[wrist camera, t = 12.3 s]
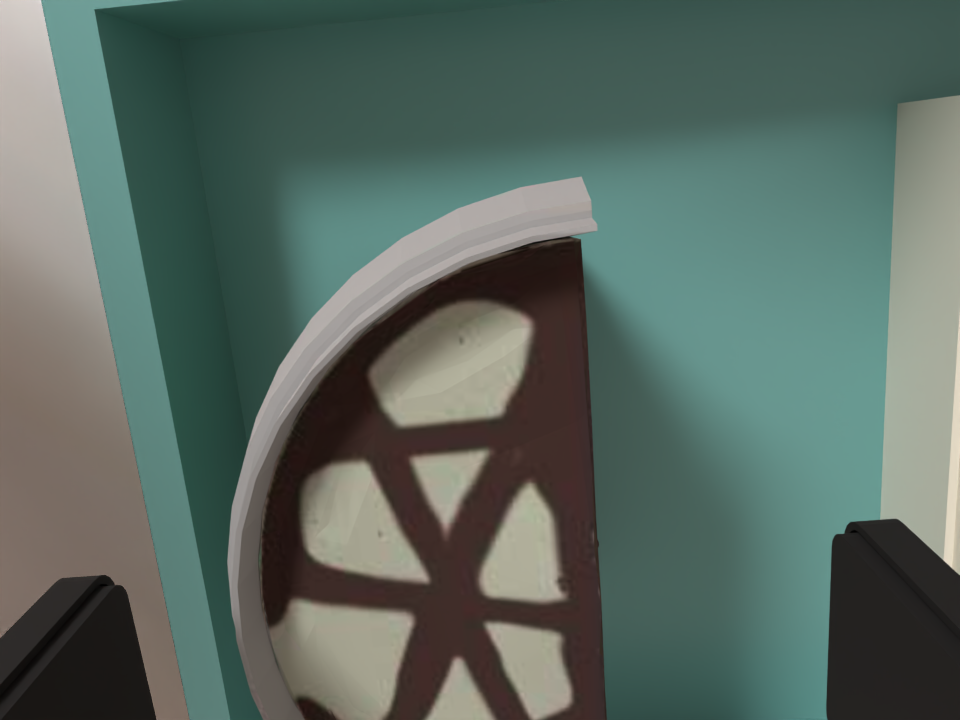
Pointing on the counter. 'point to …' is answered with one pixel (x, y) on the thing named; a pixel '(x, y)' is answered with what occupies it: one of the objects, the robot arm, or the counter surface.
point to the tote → (606, 269)
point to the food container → (431, 484)
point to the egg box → (925, 329)
